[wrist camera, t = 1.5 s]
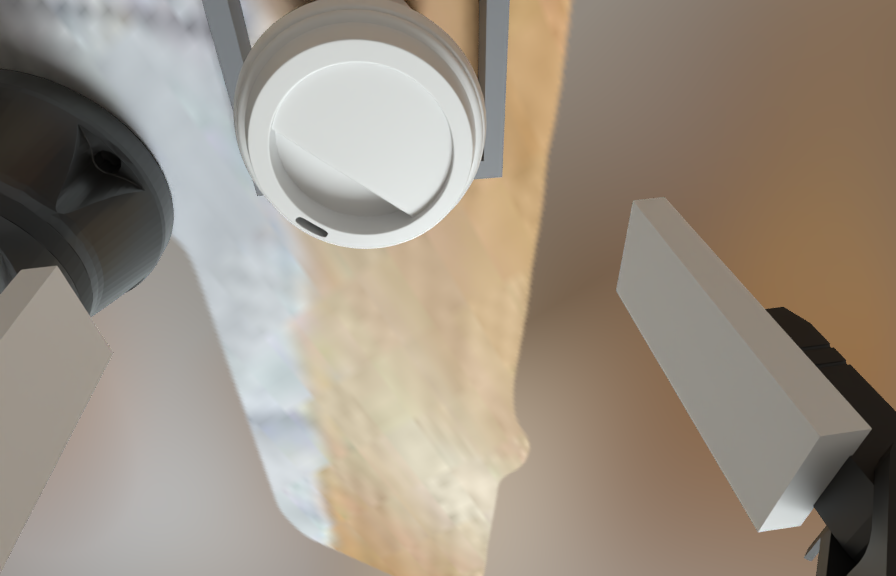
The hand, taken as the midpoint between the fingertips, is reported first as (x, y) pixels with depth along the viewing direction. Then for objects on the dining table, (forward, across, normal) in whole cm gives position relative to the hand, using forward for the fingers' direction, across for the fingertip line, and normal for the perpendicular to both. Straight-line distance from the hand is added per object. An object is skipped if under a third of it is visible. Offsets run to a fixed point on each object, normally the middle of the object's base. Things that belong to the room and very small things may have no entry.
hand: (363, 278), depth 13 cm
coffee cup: (+23, 0, 0) cm, 23 cm away
